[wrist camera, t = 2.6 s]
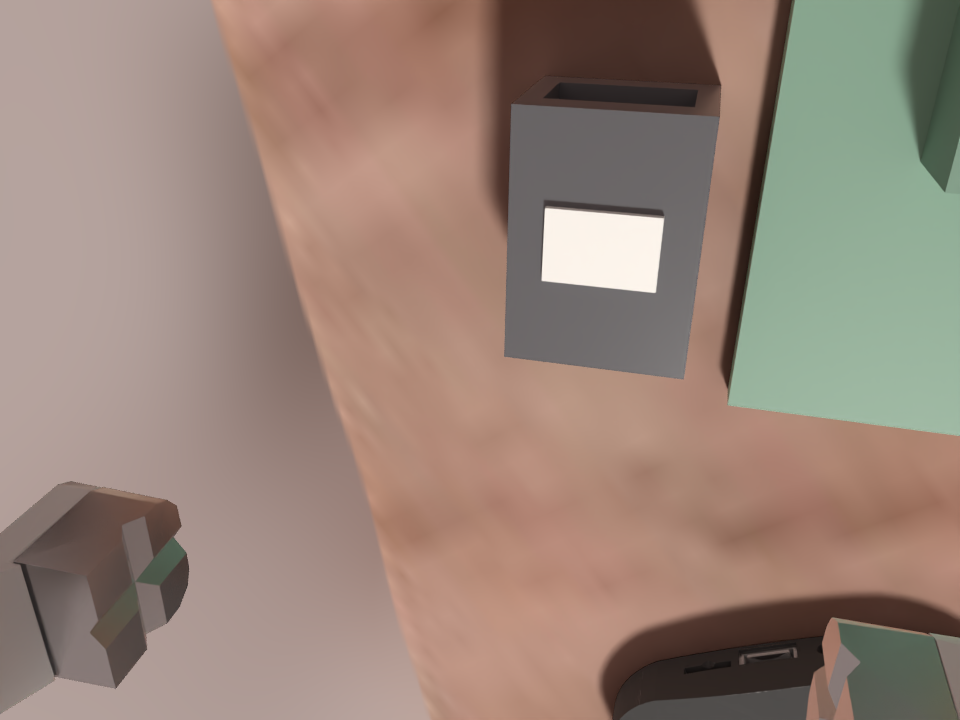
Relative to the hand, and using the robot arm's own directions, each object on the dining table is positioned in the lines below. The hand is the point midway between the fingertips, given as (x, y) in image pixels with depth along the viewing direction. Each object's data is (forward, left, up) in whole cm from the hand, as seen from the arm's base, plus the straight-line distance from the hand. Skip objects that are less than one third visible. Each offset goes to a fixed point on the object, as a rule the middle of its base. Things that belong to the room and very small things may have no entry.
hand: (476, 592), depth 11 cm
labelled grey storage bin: (0, 0, -18) cm, 18 cm away
